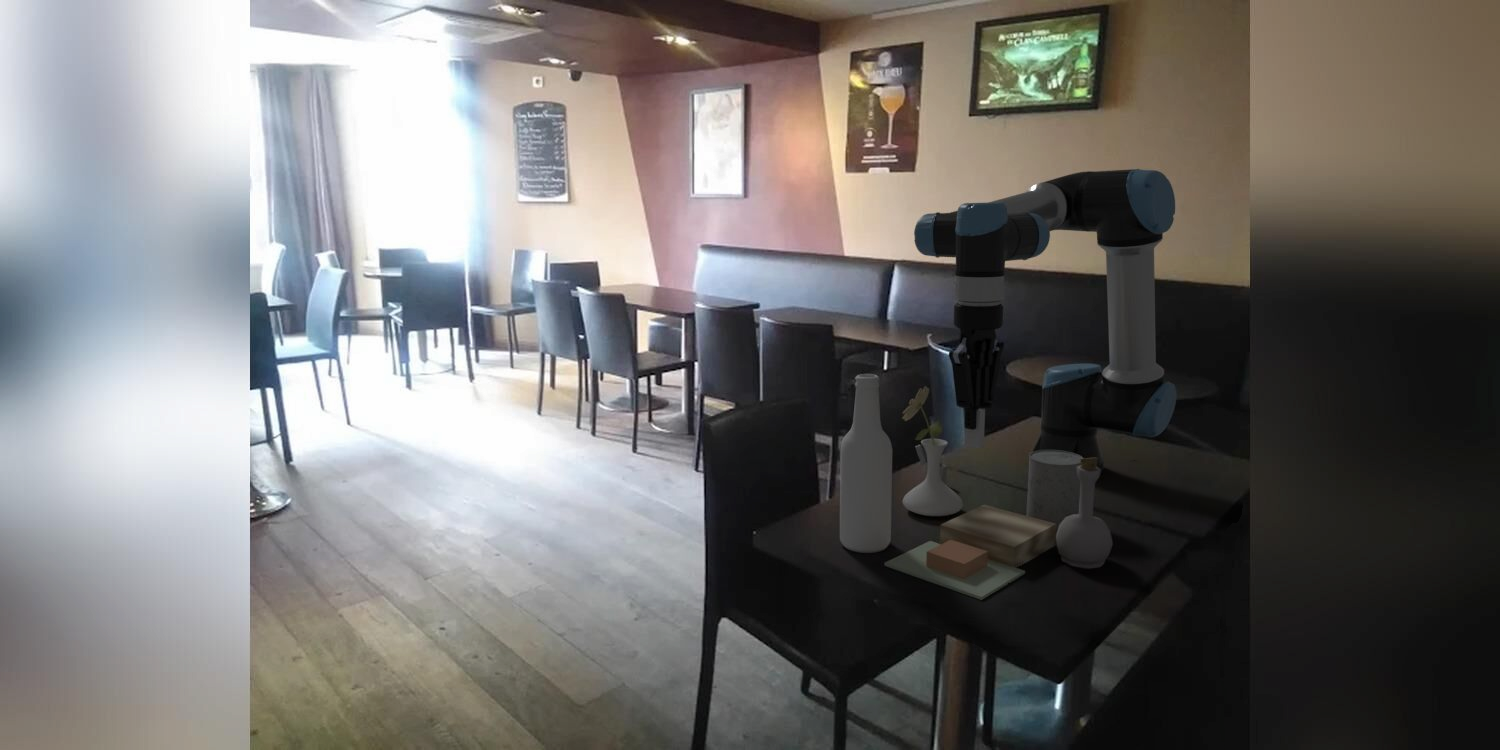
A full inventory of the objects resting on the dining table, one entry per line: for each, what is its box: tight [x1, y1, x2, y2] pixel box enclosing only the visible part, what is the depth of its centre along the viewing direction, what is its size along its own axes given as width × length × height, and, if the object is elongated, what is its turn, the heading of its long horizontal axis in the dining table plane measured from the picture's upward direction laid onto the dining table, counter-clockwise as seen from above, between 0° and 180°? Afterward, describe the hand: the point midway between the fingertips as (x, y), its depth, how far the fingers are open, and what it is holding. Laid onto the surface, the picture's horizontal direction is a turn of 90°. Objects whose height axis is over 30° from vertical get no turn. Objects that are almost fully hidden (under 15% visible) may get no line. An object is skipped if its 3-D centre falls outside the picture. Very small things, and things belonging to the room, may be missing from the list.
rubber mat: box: [884, 540, 1026, 601], centre depth 142 cm, size 13×18×1 cm
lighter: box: [915, 443, 948, 486], centre depth 184 cm, size 7×2×8 cm, turn 42°
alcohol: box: [839, 373, 893, 554], centre depth 150 cm, size 9×9×30 cm
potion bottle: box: [1055, 457, 1113, 570], centre depth 143 cm, size 9×9×18 cm
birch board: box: [939, 504, 1057, 568], centre depth 150 cm, size 14×14×4 cm
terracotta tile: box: [926, 540, 988, 579], centre depth 142 cm, size 7×7×2 cm
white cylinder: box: [1025, 450, 1084, 531], centre depth 161 cm, size 10×10×12 cm
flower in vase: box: [901, 385, 964, 517], centre depth 165 cm, size 13×11×25 cm
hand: (973, 446), depth 142 cm, fingers closed
